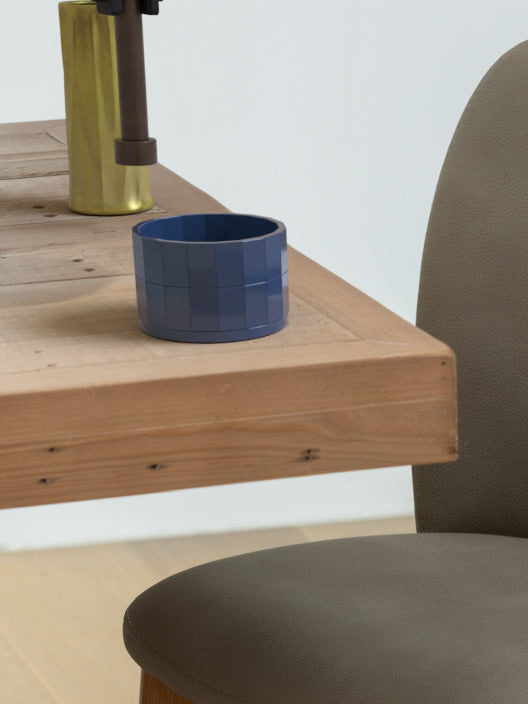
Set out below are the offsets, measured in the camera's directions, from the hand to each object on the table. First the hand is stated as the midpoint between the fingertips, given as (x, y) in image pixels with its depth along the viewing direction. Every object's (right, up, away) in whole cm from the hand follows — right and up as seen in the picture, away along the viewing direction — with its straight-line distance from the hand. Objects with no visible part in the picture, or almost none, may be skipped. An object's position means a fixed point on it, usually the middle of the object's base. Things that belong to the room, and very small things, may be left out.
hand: (127, 12), depth 102 cm
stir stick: (0, -9, +3) cm, 10 cm away
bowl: (+9, -22, -18) cm, 30 cm away
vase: (-4, -11, +11) cm, 16 cm away
